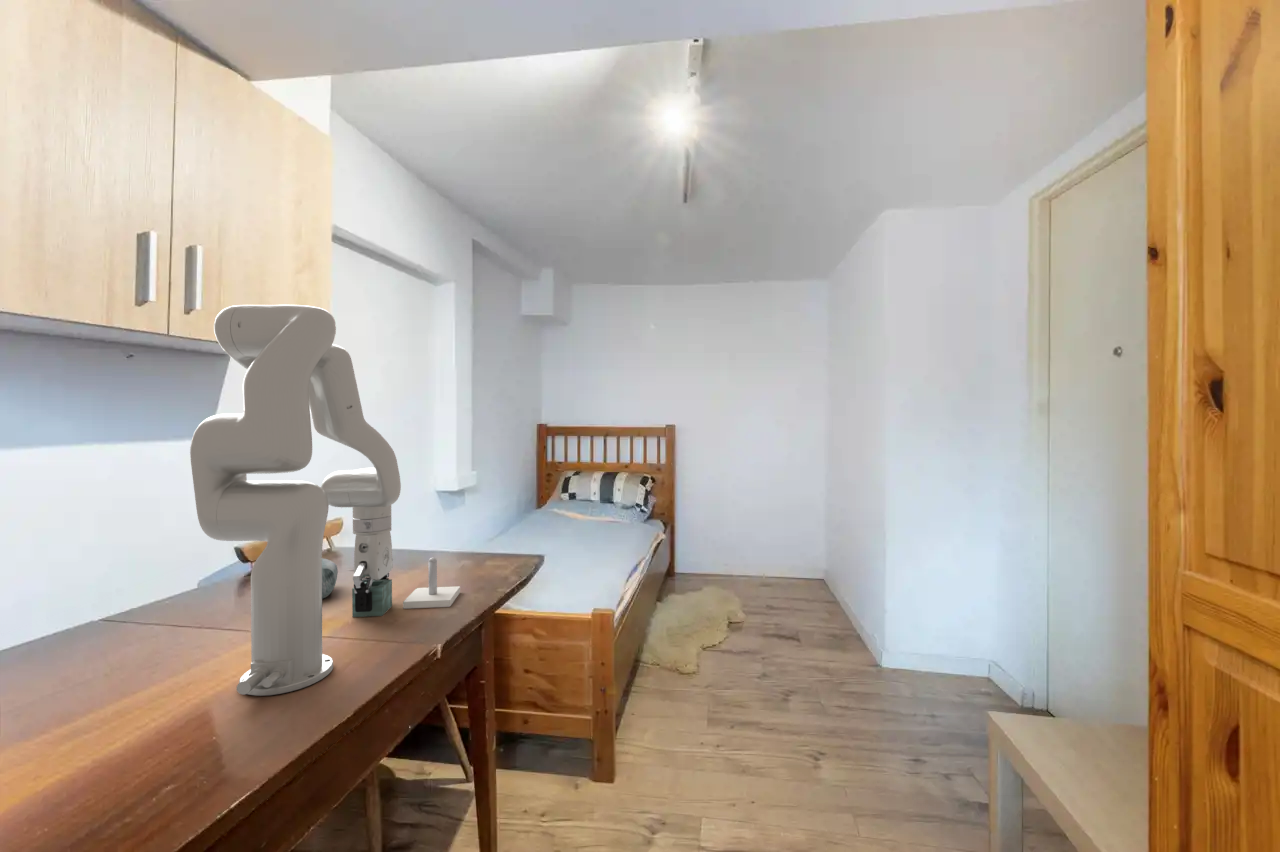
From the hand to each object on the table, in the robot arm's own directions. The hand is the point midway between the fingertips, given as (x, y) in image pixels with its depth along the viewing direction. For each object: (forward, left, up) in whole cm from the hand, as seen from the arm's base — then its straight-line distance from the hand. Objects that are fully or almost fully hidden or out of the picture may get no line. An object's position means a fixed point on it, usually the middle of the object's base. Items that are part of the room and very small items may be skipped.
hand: (372, 603), depth 116 cm
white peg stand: (+6, -11, -2) cm, 13 cm away
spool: (+14, +18, -2) cm, 23 cm away
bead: (0, 0, -2) cm, 2 cm away
